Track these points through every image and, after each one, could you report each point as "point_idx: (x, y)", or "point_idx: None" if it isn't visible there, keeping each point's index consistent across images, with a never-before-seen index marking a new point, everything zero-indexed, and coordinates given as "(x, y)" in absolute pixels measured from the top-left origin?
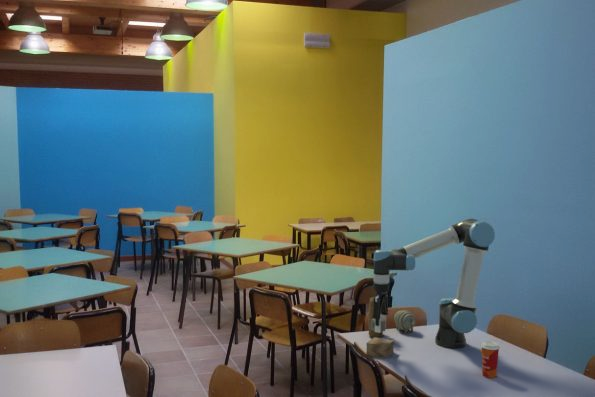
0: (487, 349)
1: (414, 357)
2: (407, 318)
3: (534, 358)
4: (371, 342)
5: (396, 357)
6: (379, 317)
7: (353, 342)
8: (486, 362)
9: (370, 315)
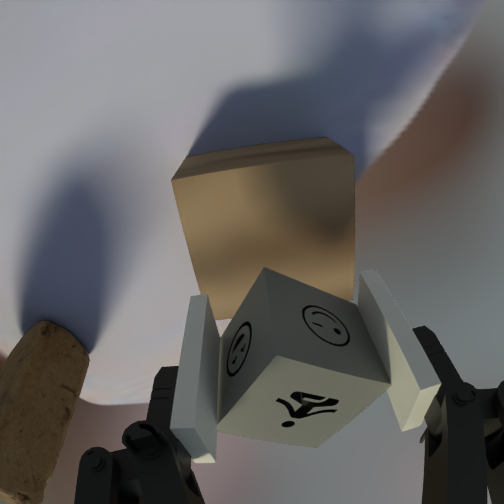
0: None
1: (194, 2)
2: None
3: None
4: (328, 282)
5: (272, 91)
6: (473, 401)
7: None
8: None
9: (61, 441)
